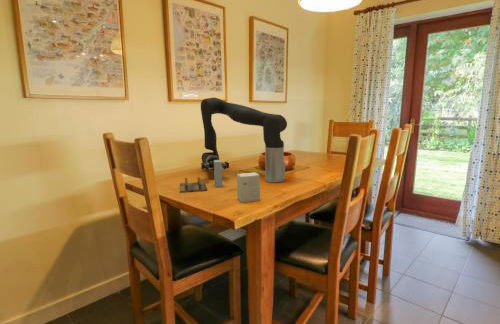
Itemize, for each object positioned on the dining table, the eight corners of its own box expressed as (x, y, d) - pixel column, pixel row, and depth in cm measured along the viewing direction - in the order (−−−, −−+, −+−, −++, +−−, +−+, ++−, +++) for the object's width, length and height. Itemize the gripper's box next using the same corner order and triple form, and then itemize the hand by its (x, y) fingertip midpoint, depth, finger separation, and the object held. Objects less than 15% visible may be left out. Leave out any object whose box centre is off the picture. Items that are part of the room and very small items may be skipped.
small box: (255, 196, 121) (255, 172, 119) (260, 200, 115) (260, 174, 114) (237, 198, 118) (236, 173, 116) (241, 202, 113) (240, 176, 111)
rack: (204, 183, 144) (204, 176, 144) (207, 190, 131) (207, 183, 130) (180, 185, 142) (179, 178, 141) (180, 192, 128) (179, 185, 127)
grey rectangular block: (220, 183, 143) (219, 159, 141) (222, 186, 137) (221, 161, 135) (214, 184, 142) (213, 160, 140) (216, 187, 137) (215, 162, 134)
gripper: (199, 156, 158) (201, 161, 142) (225, 155, 161) (230, 159, 145) (200, 169, 159) (202, 176, 143) (226, 168, 162) (230, 174, 146)
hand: (216, 167), depth 144 cm, fingers open, 8 cm apart
